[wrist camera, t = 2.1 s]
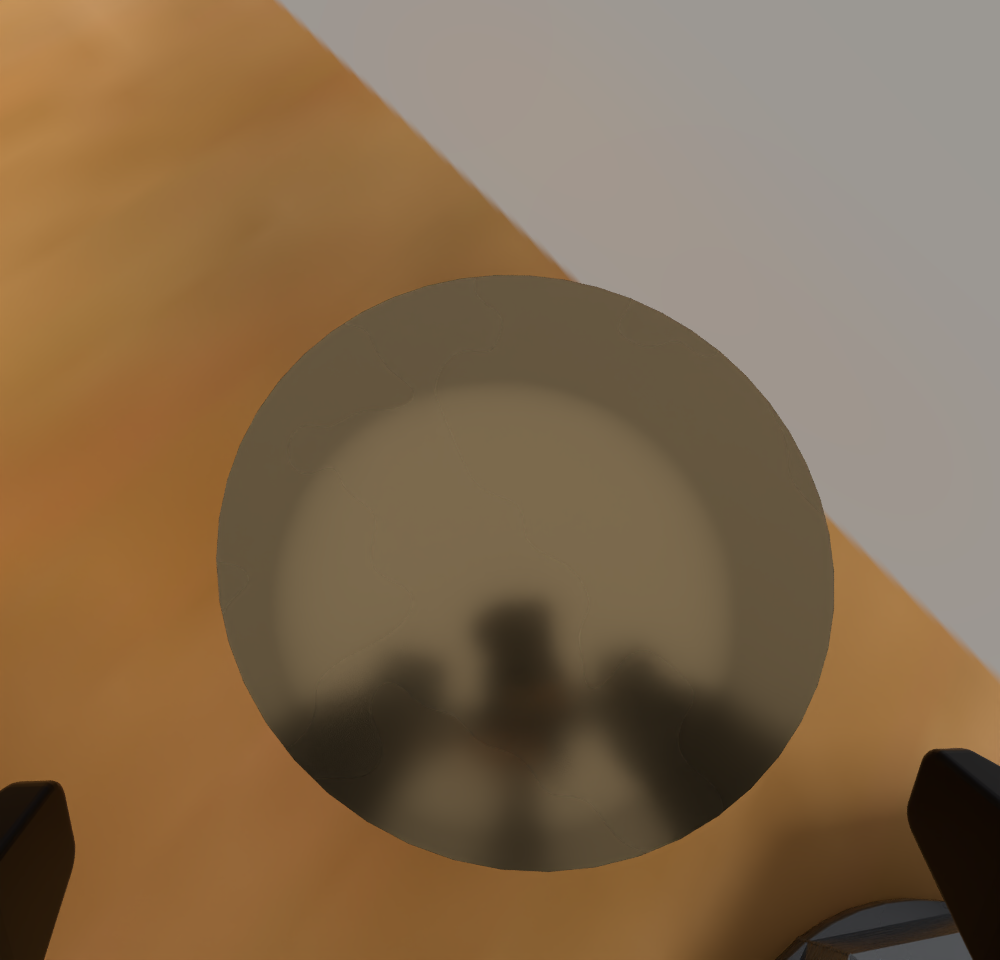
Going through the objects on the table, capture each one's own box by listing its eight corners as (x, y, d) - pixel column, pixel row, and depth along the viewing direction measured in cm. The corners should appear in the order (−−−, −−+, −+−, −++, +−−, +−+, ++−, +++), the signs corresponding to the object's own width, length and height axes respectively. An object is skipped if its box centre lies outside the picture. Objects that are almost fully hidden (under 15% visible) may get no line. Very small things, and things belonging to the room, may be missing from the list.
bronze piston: (589, 808, 18) (919, 811, 6) (347, 848, 17) (217, 931, 5) (549, 578, 20) (744, 263, 8) (331, 603, 19) (215, 288, 7)
